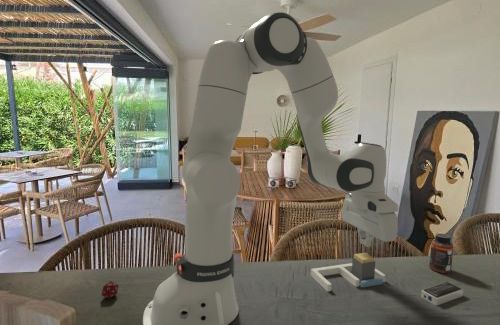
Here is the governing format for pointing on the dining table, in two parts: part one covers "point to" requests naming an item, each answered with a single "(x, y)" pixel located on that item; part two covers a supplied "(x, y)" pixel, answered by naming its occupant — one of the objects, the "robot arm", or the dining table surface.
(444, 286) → the multiport hub
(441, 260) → the supplement bottle
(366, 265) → the grey tan-topped block
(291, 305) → the dining table surface
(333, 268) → the white e-shaped frame
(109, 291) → the dice
